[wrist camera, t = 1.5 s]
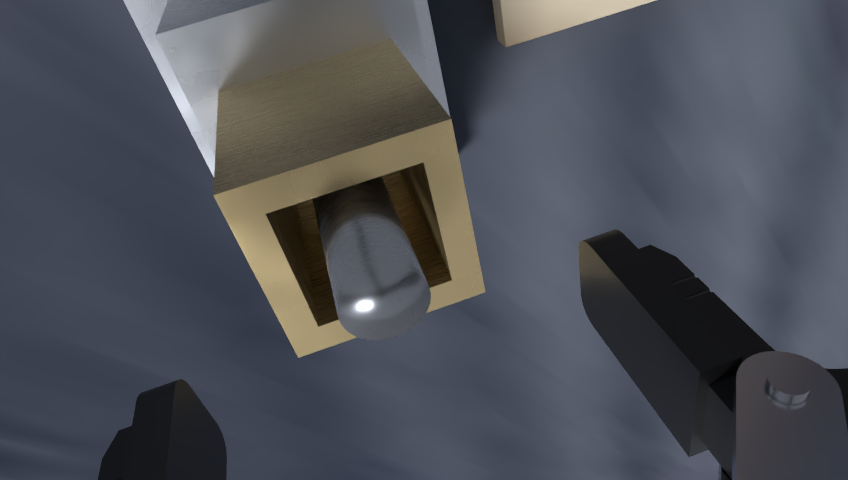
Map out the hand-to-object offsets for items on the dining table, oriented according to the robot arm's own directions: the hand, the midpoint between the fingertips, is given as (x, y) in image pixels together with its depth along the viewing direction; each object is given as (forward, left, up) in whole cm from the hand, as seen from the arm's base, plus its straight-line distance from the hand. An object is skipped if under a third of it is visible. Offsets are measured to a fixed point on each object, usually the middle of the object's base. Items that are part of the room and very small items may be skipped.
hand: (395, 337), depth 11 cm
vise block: (0, 0, -15) cm, 15 cm away
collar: (0, 0, -9) cm, 9 cm away
